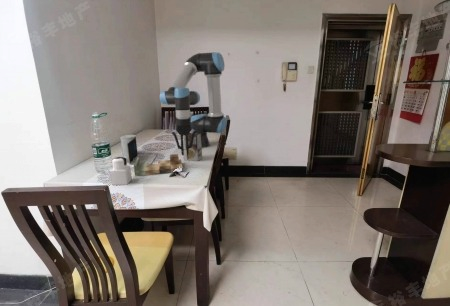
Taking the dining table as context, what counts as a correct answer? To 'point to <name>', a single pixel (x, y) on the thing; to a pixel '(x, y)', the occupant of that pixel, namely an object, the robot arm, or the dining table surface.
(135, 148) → the laptop
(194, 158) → the coffee box
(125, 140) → the grey mottled cylinder
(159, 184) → the dining table surface
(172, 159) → the block
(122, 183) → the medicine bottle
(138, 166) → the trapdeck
